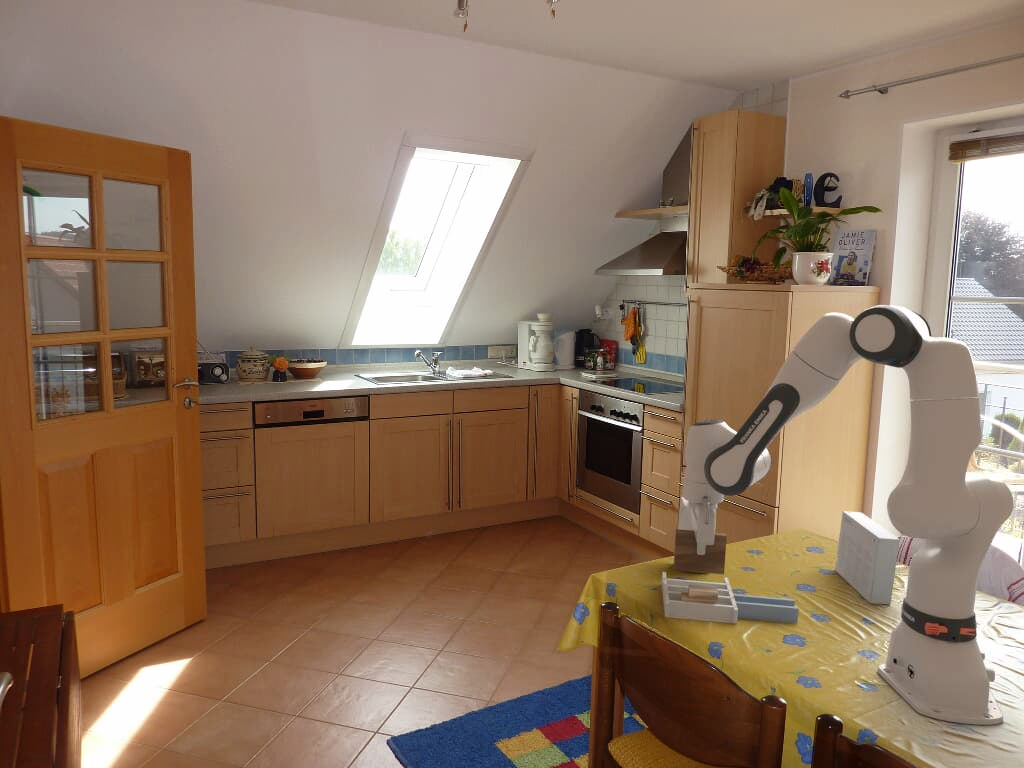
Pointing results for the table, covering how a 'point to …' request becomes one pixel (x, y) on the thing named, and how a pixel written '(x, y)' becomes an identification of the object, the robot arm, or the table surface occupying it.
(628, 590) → the table surface
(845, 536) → the skincare box
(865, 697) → the table surface
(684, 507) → the milk carton
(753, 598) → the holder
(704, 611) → the rack
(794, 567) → the table surface
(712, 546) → the walnut sheet
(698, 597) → the offcut top
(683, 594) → the offcut mid
